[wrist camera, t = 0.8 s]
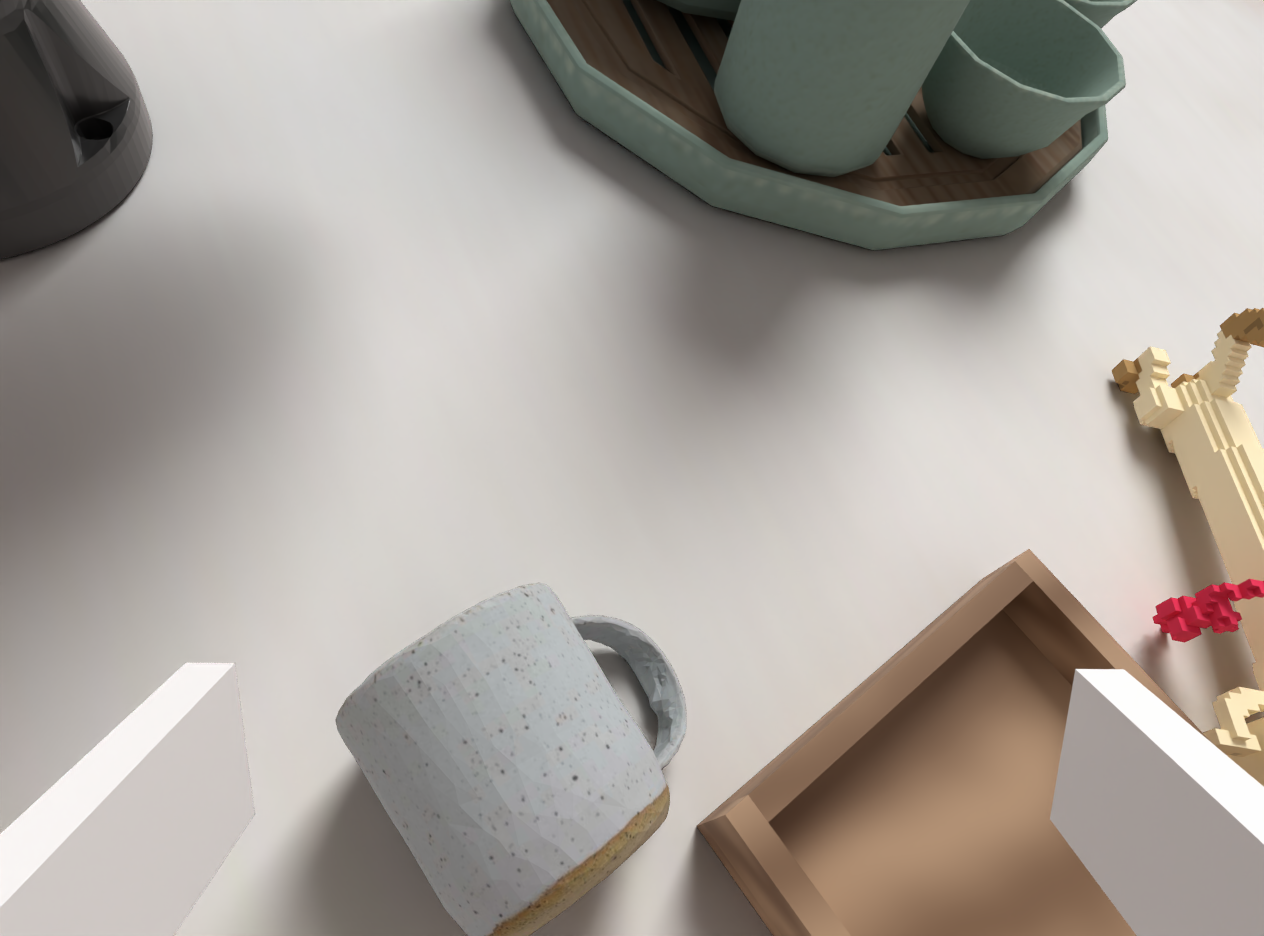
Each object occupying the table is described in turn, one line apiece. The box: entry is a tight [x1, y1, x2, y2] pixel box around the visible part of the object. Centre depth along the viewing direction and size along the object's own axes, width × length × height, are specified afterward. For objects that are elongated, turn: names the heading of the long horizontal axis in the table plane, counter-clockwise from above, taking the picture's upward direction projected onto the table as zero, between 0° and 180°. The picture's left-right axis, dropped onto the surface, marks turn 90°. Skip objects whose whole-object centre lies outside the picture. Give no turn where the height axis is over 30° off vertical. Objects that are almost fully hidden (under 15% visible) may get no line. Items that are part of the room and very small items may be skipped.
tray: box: [697, 549, 1213, 936], centre depth 28 cm, size 17×17×3 cm
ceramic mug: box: [336, 583, 687, 936], centre depth 25 cm, size 11×8×8 cm
